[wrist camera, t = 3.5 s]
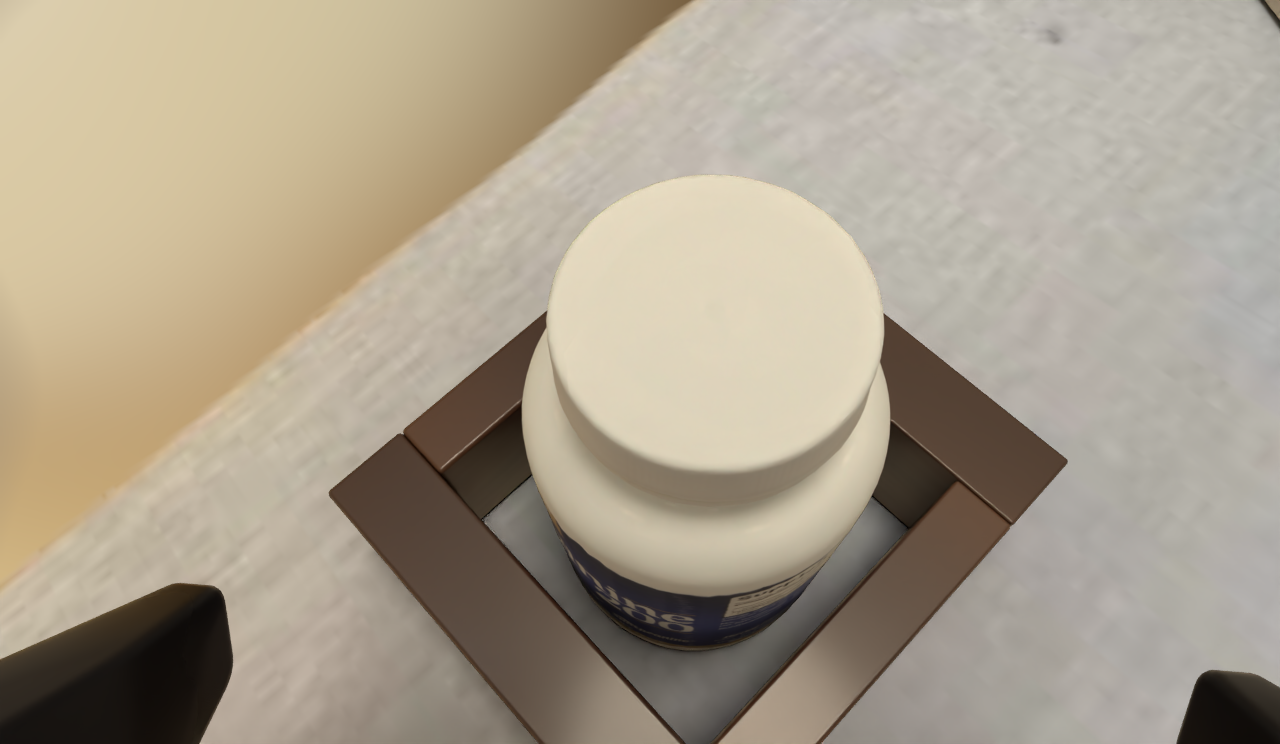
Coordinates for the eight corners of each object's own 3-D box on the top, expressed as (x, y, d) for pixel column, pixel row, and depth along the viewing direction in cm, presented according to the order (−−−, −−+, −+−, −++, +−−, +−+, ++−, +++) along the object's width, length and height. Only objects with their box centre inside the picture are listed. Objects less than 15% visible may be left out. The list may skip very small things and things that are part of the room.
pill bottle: (518, 507, 19) (395, 280, 11) (706, 367, 21) (736, 61, 12) (673, 713, 18) (681, 646, 9) (868, 546, 19) (1048, 341, 10)
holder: (675, 882, 16) (676, 908, 13) (381, 539, 19) (325, 491, 16) (1002, 513, 19) (1070, 460, 16) (703, 261, 22) (710, 173, 19)
